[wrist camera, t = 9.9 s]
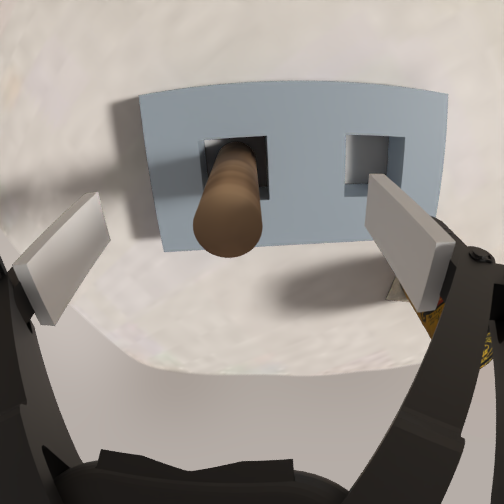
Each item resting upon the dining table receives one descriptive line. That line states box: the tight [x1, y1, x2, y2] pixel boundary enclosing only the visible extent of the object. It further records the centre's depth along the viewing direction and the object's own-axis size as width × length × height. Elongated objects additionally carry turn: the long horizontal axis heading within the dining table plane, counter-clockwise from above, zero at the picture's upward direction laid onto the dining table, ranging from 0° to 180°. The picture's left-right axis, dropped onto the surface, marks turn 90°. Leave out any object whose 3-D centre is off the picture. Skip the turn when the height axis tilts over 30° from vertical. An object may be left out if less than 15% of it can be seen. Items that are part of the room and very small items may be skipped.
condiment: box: [386, 277, 493, 369], centre depth 25 cm, size 7×8×12 cm
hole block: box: [139, 81, 448, 252], centre depth 23 cm, size 12×22×3 cm, turn 93°
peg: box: [193, 142, 263, 258], centre depth 19 cm, size 3×3×12 cm
